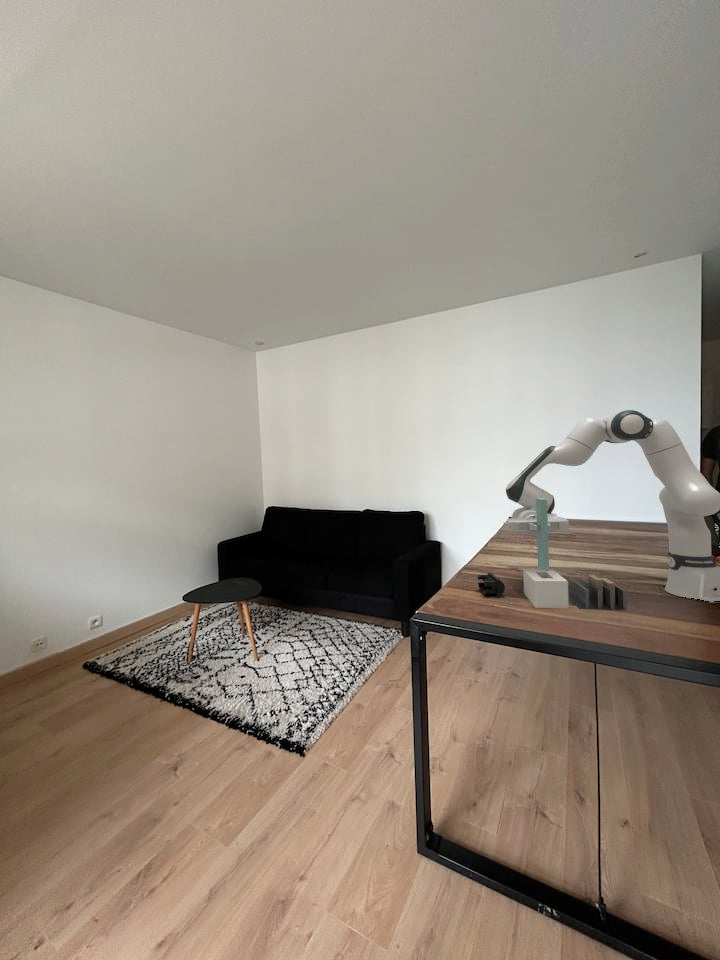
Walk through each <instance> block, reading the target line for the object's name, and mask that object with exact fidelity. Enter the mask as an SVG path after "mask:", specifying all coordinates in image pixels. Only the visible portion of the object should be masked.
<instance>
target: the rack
mask: <svg viewBox="0 0 720 960" xmlns="http://www.w3.org/2000/svg"><path fill="white" fill-rule="evenodd" d="M567 579H568V580H567V581H568V601H569V602H571V604H573V605H574V606H575V607H577V609H579V610H594V611H595V610H603V611H605V610H606V611H635V609H634V608H632V607H631V606H630V605H628V602H627V601H628V600H627V599H628V598H627V590H626V589H625V588H623V587H621V586H619V585H618V584H617V583H615V605H614V590H612V589H611V588H609V587H608V586H606V585H604V584H603V605H602V602H601V590H600V589H599V588H597V587H596V586H594V585H593V584H591V583H590V582H589V580H587V579H585V578H584V577H583V576H582V577H580V576H579V578H578V579H579V582H578V580H576V579H575V578H573V577H571V576H569V577H568V578H567Z"/></svg>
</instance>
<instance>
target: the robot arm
mask: <svg viewBox="0 0 720 960" xmlns="http://www.w3.org/2000/svg"><path fill="white" fill-rule="evenodd" d="M631 441H632V442H633V441H634V442H635V443H637V444H638V445H639V447H641V450H642V452H643V453H644V456H645V458H646V460H647V463H648V464H649V467H650V468H651V470H652V472H653V474H654V476H655V477H657V478H658V479H659V481H660V482H661V483H662V485H663V486H664V487H663V488H662V489H660V492H659V494H658V499H659V501H660V504H661V505H662V508H663V513H664V518H665V520H666V525H667V530H668V548H669V549H668V552H667V564H668V574H667V581H666V584H665V587H664V591H665V592H667V593H668V594H672V595H674V596H678V597H681V598H685V597H686V599H691V598H694V599H693V600H697V599H700V600H699V601H701V600H704V601H703V602H705V601H709V602H708V603H715V602H714V601H720V566H719V565H718V564H719V563H720V556H715V555H713V554H712V533H711V530H710V529H709V528H708V525H707V524H706V520H705V518H704V517H707V516H711V515H715V514H716V513H718V512H719V511H720V492H719V491H718V490H716V488H714V487H713V486H712V485H711V484H710V483H709V481H708V480H707V479H706V478H705V476H704V475H703V474H702V473H701V471H700V470H699V469H698V468H697V466H696V465H695V464H694V462H693V460H692V458H691V457H690V455H689V453H688V451H687V449H686V447H685V445H684V443H683V441H682V439H681V438H680V436H679V434H678V432H677V431H676V430H675V429H674V427H673V426H672V425H671V424H670V422H669V421H667V420H665V419H663V418H654V419H652V418H649V417H648V416H646V415H644V414H643V413H642V412H640V411H637V410H633V409H628V410H622V411H619V412H617V413H614V414H613V415H611V416H610V417H608V418H605V419H603V420H601V419H599V418H596V417H592V416H591V417H589V416H588V417H585V418H583V419H582V420H580V421H579V422H578V423H577V424H576V425H575V426H574V427H573V428H572V429H571V431H570V432H569V433H568V434H567V435H566V437H565V439H563V441H561V442H560V443H559V444H557V445H550V446H548V447H547V448H546V449H544V450H543V451H541V453H539V454H538V455H537V457H535V458H534V459H533V460H532V461H531V462H530V463H529V464H528V465H527V466H526V467H525V468H524V469H523V470H522V472H520V473H519V474H518V475H517V476H516V477H515V478H513V479H512V480H511V481H510V482H509V483H508V484H507V485H506V488H505V493H506V496H507V498H508V500H510V501H512V502H514V503H516V504H518V505H520V506H522V507H519V508H517V509H514V511H513V513H512V515H511V518H508V519H506V522H505V521H504V522H503V525H504V526H506V529H507V531H509V532H524V533H525V534H528V535H532V536H534V535H537V531H540V525H537V517H536V498H543V499H547V514H548V533H549V532H551V533H552V532H557V531H558V532H559V531H563V532H564V531H566V532H567V531H569V529H570V522H569V520H568V519H566V518H565V517H562V516H559V515H557V514H556V513H553V511H554V509H555V506H556V502H555V497H554V495H553V494H551V493H550V492H548V491H546V490H544V489H543V488H541V487H539V486H538V485H536V484H534V483H533V482H531V480H532V478H534V477H535V476H536V475H537V474H538V473H539V472H540V471H541V470H543V468H544V467H545V466H548V465H551V464H556V465H561V466H568V467H569V466H570V467H578V466H581V465H583V464H585V463H586V462H587V461H588V460H589V459H591V457H592V456H593V455H594V453H595V452H596V450H597V449H598V448H599V446H600V445H601V444H602V443H603V442H607V443H610V444H622V443H628V442H631Z"/></svg>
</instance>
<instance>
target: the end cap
mask: <svg viewBox="0 0 720 960" xmlns="http://www.w3.org/2000/svg"><path fill="white" fill-rule="evenodd" d="M477 580H482V582H480V581H479V582H477V587H478V591H479V592H480V594H481V593H482V594H483V595H484V596H485V597H497V598H499V597H500V596H502V595H503V594H504V593H505V590H506V586H505V583H504V582H503V581H502V580H501V579H499V578H498V577H497V576H496V575H494V573H492V572H487V574H479V575H477ZM483 595H482V596H483ZM484 596H483V597H484ZM485 597H484V598H485Z"/></svg>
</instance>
